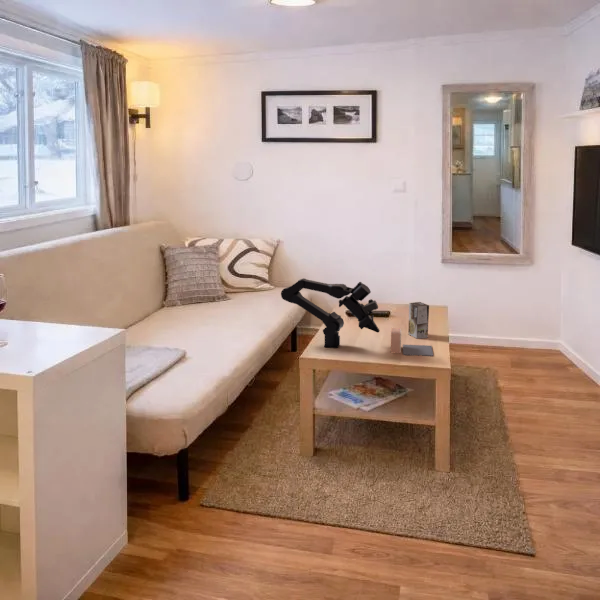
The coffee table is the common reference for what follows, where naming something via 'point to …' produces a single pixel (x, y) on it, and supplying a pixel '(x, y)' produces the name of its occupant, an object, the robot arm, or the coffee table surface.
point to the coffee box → (418, 320)
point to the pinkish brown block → (396, 340)
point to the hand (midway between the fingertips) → (378, 331)
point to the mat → (417, 350)
